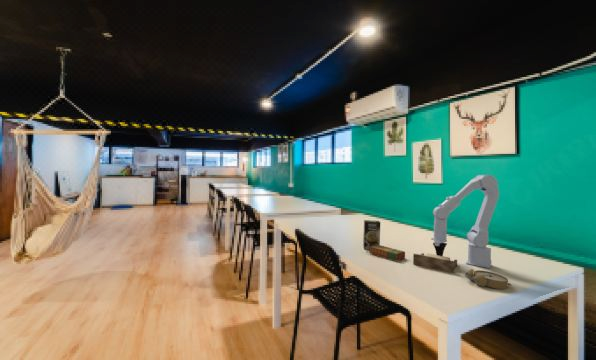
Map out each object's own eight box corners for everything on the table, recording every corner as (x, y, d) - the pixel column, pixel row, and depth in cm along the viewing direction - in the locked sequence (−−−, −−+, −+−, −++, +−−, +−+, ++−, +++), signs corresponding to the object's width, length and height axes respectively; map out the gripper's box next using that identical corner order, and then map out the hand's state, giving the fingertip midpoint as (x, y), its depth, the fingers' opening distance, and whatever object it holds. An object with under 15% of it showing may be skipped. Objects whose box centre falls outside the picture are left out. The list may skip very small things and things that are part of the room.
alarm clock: (516, 283, 101) (475, 274, 102) (513, 295, 101) (472, 286, 102) (497, 272, 112) (460, 264, 113) (494, 283, 112) (458, 275, 114)
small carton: (449, 265, 128) (450, 257, 128) (446, 270, 122) (446, 261, 122) (427, 261, 135) (427, 253, 135) (423, 265, 129) (423, 257, 129)
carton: (378, 251, 151) (378, 244, 151) (405, 259, 138) (405, 250, 138) (369, 254, 145) (370, 246, 145) (396, 262, 133) (397, 253, 133)
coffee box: (363, 249, 154) (364, 221, 154) (362, 246, 161) (363, 219, 160) (380, 250, 153) (380, 222, 152) (378, 247, 159) (379, 220, 159)
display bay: (458, 265, 129) (458, 254, 128) (453, 272, 118) (453, 261, 118) (421, 257, 139) (421, 248, 139) (413, 264, 129) (413, 253, 129)
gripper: (434, 227, 143) (434, 252, 143) (428, 231, 131) (427, 258, 132) (449, 229, 138) (449, 255, 138) (444, 233, 127) (443, 262, 127)
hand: (439, 257), depth 135 cm, fingers closed
